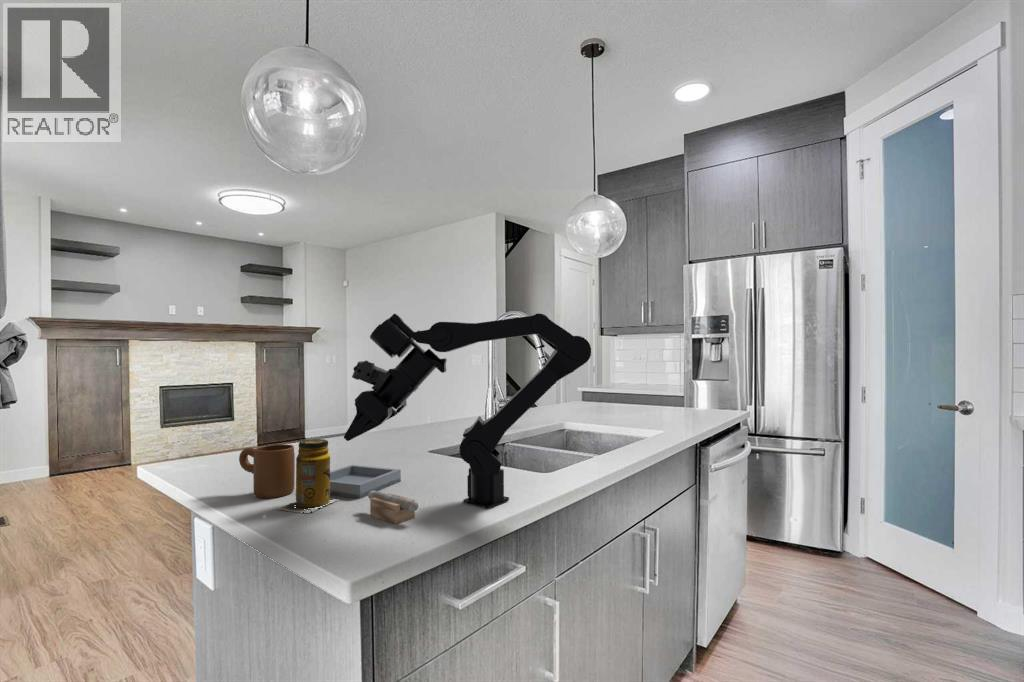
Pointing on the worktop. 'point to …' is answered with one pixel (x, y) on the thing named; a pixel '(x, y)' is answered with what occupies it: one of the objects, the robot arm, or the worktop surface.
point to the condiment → (311, 476)
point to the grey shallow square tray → (361, 480)
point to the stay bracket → (391, 507)
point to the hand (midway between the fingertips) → (353, 434)
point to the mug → (270, 469)
